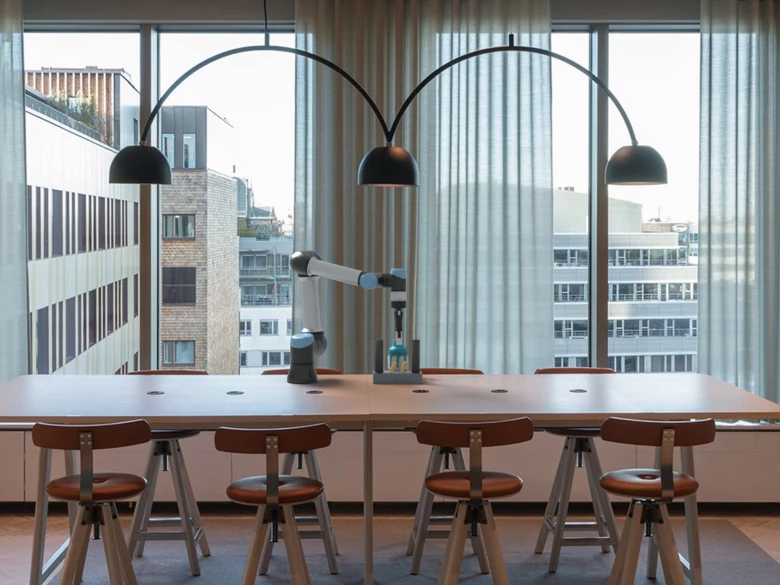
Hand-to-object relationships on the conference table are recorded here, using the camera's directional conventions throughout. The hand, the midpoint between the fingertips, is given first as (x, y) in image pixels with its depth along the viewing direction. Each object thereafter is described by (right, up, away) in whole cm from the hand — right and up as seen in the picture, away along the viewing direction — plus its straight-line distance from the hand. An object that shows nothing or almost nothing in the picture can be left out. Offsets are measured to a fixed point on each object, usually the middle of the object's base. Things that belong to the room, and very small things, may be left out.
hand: (398, 343), depth 467 cm
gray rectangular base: (-1, -19, +1) cm, 19 cm away
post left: (-10, -14, +1) cm, 17 cm away
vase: (0, -19, +21) cm, 28 cm away
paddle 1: (-4, -14, +1) cm, 14 cm away
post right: (+8, -14, +1) cm, 17 cm away
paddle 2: (+1, -14, +1) cm, 14 cm away
